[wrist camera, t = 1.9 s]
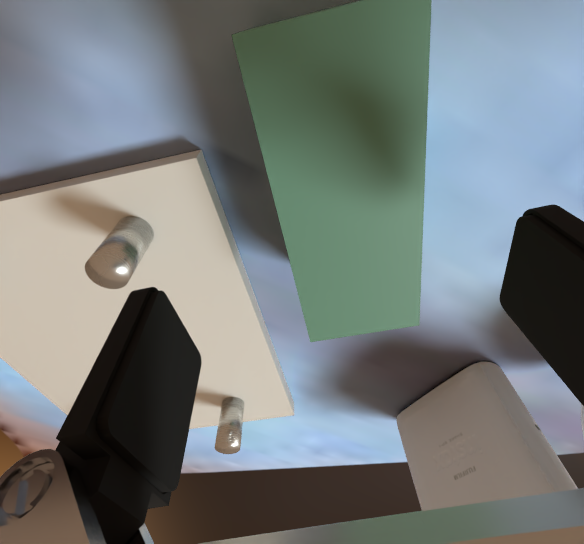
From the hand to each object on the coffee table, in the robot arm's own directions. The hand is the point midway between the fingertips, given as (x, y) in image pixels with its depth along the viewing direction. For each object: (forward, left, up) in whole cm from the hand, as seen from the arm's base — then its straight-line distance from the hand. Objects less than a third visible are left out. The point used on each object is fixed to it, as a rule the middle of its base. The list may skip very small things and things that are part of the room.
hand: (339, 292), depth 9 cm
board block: (-1, 0, -10) cm, 10 cm away
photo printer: (-8, +22, -10) cm, 25 cm away
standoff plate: (+14, +9, -9) cm, 19 cm away
